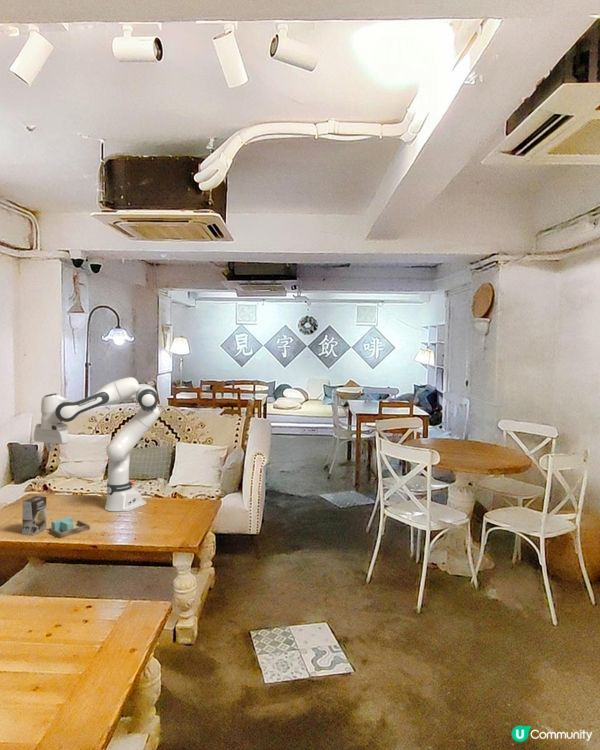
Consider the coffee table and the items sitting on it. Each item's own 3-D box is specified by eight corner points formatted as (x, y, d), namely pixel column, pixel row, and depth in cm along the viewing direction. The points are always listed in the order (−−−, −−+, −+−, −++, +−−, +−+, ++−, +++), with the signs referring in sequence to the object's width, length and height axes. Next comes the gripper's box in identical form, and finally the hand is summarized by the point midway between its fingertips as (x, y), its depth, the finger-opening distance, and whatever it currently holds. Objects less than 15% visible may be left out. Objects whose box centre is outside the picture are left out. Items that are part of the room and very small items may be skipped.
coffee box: (33, 535, 237) (33, 502, 236) (21, 534, 238) (21, 501, 237) (47, 528, 246) (47, 496, 245) (35, 527, 247) (35, 495, 246)
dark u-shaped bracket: (79, 524, 252) (79, 520, 252) (89, 529, 247) (89, 525, 246) (49, 533, 240) (49, 529, 240) (59, 538, 235) (59, 534, 234)
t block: (69, 525, 251) (69, 516, 250) (79, 530, 245) (79, 521, 245) (51, 530, 243) (51, 521, 243) (61, 535, 238) (61, 526, 238)
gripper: (30, 424, 262) (30, 450, 263) (60, 427, 254) (60, 454, 255) (40, 422, 268) (40, 448, 268) (70, 425, 260) (70, 452, 261)
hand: (50, 451), depth 262 cm, fingers closed
